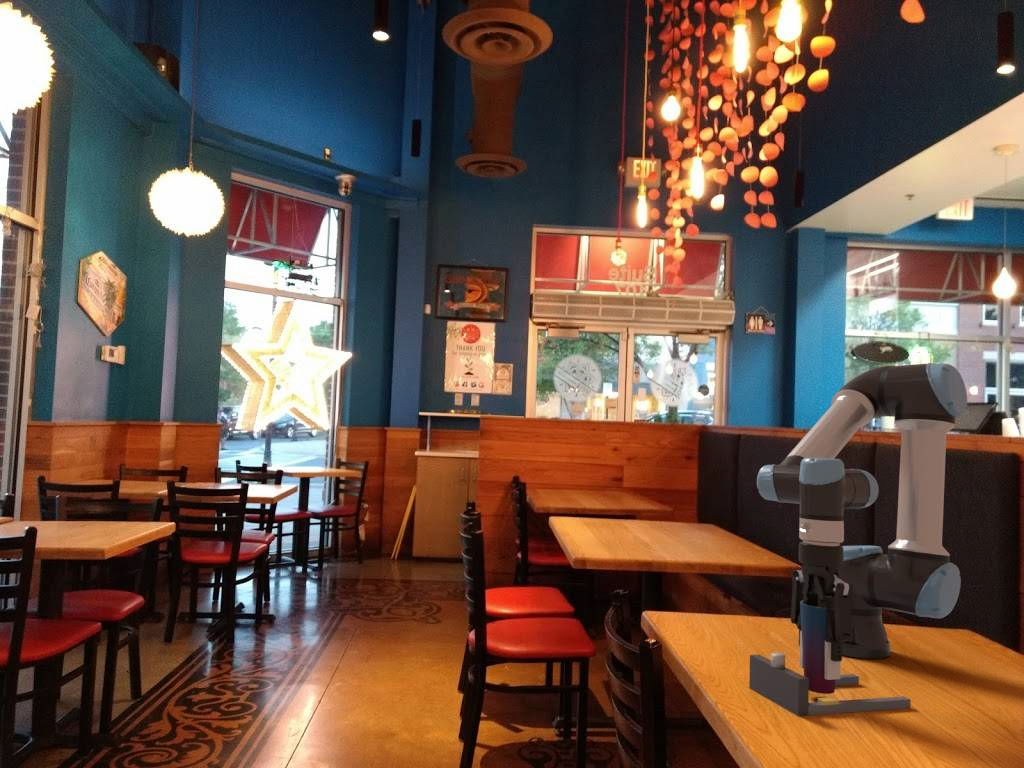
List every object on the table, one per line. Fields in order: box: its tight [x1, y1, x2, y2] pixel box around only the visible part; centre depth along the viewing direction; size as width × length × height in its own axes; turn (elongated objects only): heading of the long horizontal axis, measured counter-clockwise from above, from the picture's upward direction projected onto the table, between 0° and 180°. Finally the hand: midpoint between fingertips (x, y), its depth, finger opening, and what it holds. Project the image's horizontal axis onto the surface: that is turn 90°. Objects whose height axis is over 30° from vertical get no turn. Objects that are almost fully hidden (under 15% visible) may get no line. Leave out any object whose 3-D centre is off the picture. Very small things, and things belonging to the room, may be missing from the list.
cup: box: [800, 600, 836, 695], centre depth 133 cm, size 7×7×15 cm
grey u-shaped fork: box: [749, 652, 912, 717], centre depth 133 cm, size 23×14×8 cm, turn 106°
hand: (819, 672), depth 132 cm, fingers closed on cup, 6 cm apart
